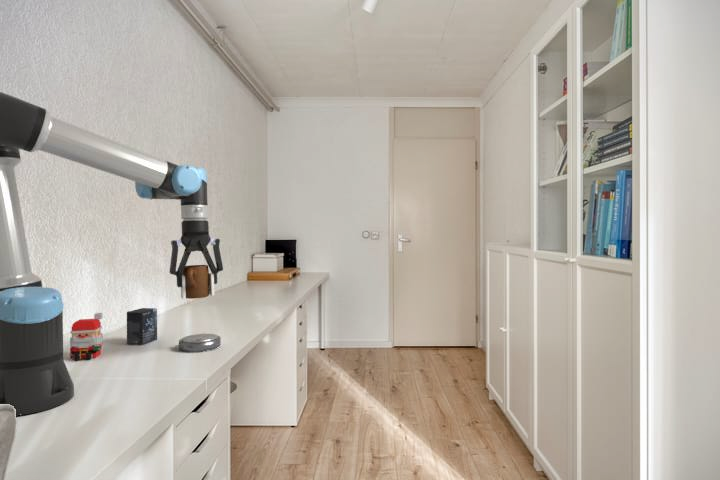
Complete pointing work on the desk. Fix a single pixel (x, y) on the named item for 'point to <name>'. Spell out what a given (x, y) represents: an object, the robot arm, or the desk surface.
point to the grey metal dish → (199, 343)
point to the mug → (196, 281)
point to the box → (141, 326)
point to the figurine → (86, 338)
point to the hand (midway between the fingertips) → (198, 296)
